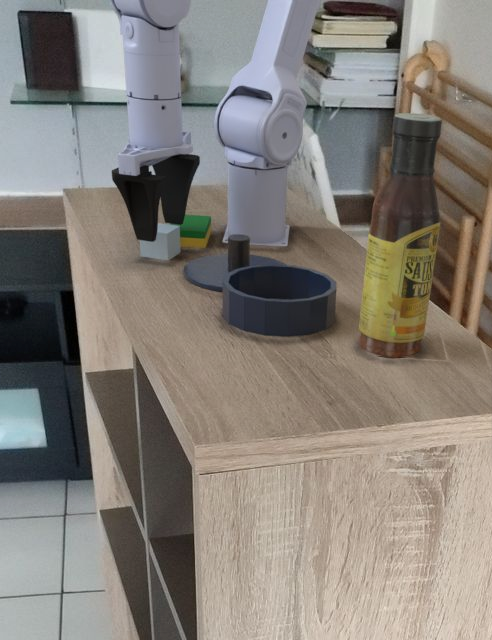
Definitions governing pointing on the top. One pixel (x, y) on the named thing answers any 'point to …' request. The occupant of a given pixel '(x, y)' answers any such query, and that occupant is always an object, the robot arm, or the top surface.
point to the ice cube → (162, 243)
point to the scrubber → (195, 231)
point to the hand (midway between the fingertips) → (160, 231)
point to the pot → (279, 300)
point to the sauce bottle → (402, 242)
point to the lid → (224, 263)
